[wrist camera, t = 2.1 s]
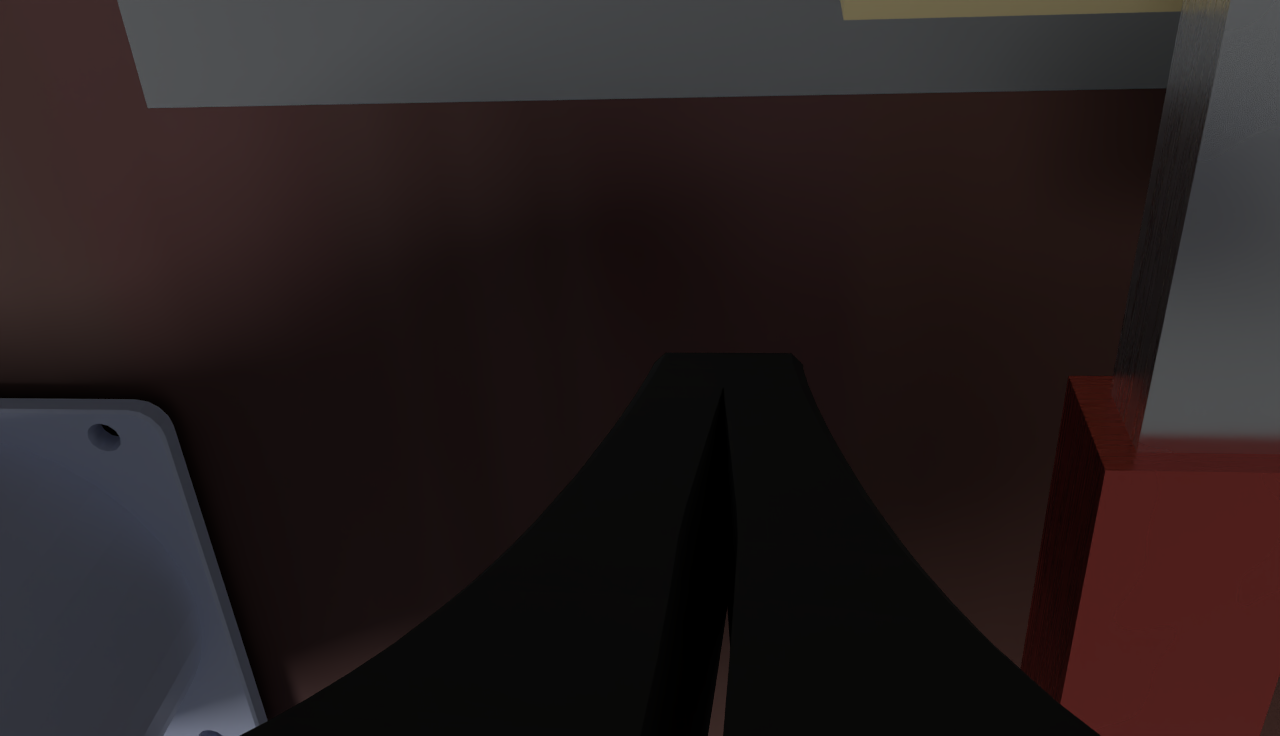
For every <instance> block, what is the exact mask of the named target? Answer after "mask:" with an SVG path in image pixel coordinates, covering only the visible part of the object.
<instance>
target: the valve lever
mask: <svg viewBox="0 0 1280 736" xmlns="http://www.w3.org/2000/svg"><path fill="white" fill-rule="evenodd" d="M1021 670H1022V671H1023V672H1024V673H1025V674H1027V675H1028V676H1029V677H1030V678H1031V679H1032V680H1033V681H1034V682H1036V683H1037V684H1038V685H1039V686H1040V687H1041V688H1042V689H1043V690H1044V691H1046V692H1047V693H1048V694H1049V695H1050V696H1051V697H1052V698H1053V699H1055V700H1056V701H1057V702H1058V703H1059V704H1061V705H1062V706H1063V707H1065V708H1066V709H1067V710H1069V711H1070V712H1071V713H1072V714H1074V715H1075V716H1076V717H1078V718H1079V719H1080V720H1081V721H1083V722H1084V723H1085V724H1087V725H1088V726H1089V727H1090V728H1092V729H1093V730H1094V731H1096V732H1097V733H1098V734H1100V735H1101V736H1260V733H1261V730H1262V727H1263V724H1264V721H1265V718H1266V715H1267V712H1268V709H1269V706H1270V703H1271V700H1272V697H1273V693H1274V690H1275V687H1276V684H1277V681H1278V678H1279V675H1280V0H1183V4H1182V9H1181V15H1180V20H1179V25H1178V31H1177V36H1176V41H1175V47H1174V52H1173V57H1172V63H1171V68H1170V73H1169V79H1168V84H1167V90H1166V95H1165V100H1164V106H1163V111H1162V116H1161V122H1160V127H1159V132H1158V138H1157V143H1156V148H1155V154H1154V159H1153V164H1152V170H1151V175H1150V180H1149V186H1148V191H1147V196H1146V202H1145V207H1144V212H1143V218H1142V223H1141V229H1140V234H1139V239H1138V245H1137V250H1136V255H1135V261H1134V266H1133V271H1132V277H1131V282H1130V287H1129V293H1128V298H1127V303H1126V309H1125V314H1124V319H1123V325H1122V330H1121V335H1120V341H1119V346H1118V351H1117V357H1116V362H1115V368H1114V373H1113V376H1068V382H1067V388H1066V395H1065V401H1064V407H1063V413H1062V419H1061V425H1060V431H1059V437H1058V443H1057V450H1056V456H1055V462H1054V468H1053V474H1052V480H1051V486H1050V492H1049V498H1048V505H1047V511H1046V517H1045V523H1044V529H1043V535H1042V541H1041V547H1040V553H1039V560H1038V566H1037V572H1036V578H1035V584H1034V590H1033V596H1032V602H1031V608H1030V615H1029V621H1028V627H1027V633H1026V639H1025V645H1024V651H1023V657H1022V664H1021Z"/></svg>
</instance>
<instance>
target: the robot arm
mask: <svg viewBox="0 0 1280 736" xmlns="http://www.w3.org/2000/svg"><path fill="white" fill-rule="evenodd" d="M101 424H103V425H107V426H109V427H111V428H112V429H114V430H115V431H116V432H117V434H118V435H119V436H114V435H111V434H110V433H108V432H107V431H105V430H104V428H103V427H102V425H101ZM727 606H728V621H729V636H730V660H729V673H728V685H727V696H726V708H725V720H724V732H723V736H1101V735H1100V734H1098V733H1097V732H1096V731H1094V730H1093V729H1092V728H1090V727H1089V726H1088V725H1087V724H1085V723H1084V722H1083V721H1081V720H1080V719H1079V718H1078V717H1076V716H1075V715H1074V714H1072V713H1071V712H1070V711H1069V710H1067V709H1066V708H1065V707H1063V706H1062V705H1061V704H1059V703H1058V702H1057V701H1056V700H1055V699H1053V698H1052V697H1051V696H1050V695H1049V694H1048V693H1047V692H1046V691H1044V690H1043V689H1042V688H1041V687H1040V686H1039V685H1038V684H1037V683H1036V682H1034V681H1033V680H1032V679H1031V678H1030V677H1029V676H1028V675H1027V674H1025V673H1024V672H1023V671H1022V670H1021V669H1020V668H1019V667H1018V666H1016V665H1015V664H1014V663H1013V662H1012V661H1011V660H1010V659H1009V658H1008V657H1006V656H1005V655H1004V654H1003V653H1002V652H1001V651H1000V650H999V649H997V648H996V647H995V646H994V645H993V644H992V643H991V642H990V641H989V640H988V639H987V638H986V637H985V636H984V635H983V634H982V633H981V632H980V631H979V630H978V629H977V628H976V627H975V626H974V625H973V624H972V623H971V622H970V620H969V619H968V618H967V617H966V616H965V615H964V614H963V613H962V612H961V611H960V610H959V609H958V608H957V607H956V606H955V605H954V604H953V603H952V602H951V601H950V599H949V598H948V597H947V596H946V595H945V594H944V593H943V592H942V590H941V589H940V588H939V587H938V586H937V585H936V584H935V582H934V581H933V580H932V579H931V578H930V577H929V576H928V575H927V573H926V572H925V571H924V570H923V569H922V567H921V566H920V565H919V564H918V562H917V561H916V560H915V559H914V558H913V556H912V555H911V554H910V553H909V551H908V550H907V549H906V547H905V546H904V545H903V544H902V542H901V541H900V540H899V538H898V537H897V536H896V534H895V533H894V532H893V530H892V529H891V527H890V526H889V525H888V523H887V522H886V520H885V519H884V518H883V516H882V515H881V514H880V512H879V511H878V509H877V508H876V507H875V505H874V504H873V502H872V501H871V499H870V498H869V496H868V495H867V493H866V492H865V490H864V489H863V487H862V486H861V484H860V482H859V481H858V479H857V477H856V476H855V474H854V472H853V471H852V469H851V467H850V466H849V464H848V463H847V461H846V459H845V458H844V456H843V454H842V453H841V451H840V449H839V448H838V446H837V444H836V442H835V440H834V439H833V437H832V435H831V433H830V431H829V429H828V427H827V425H826V423H825V421H824V419H823V417H822V415H821V413H820V411H819V409H818V407H817V405H816V402H815V400H814V398H813V396H812V393H811V391H810V388H809V386H808V383H807V380H806V377H805V374H804V370H803V364H802V363H801V362H800V361H799V360H798V359H797V358H796V357H794V356H793V355H792V354H791V353H665V354H664V355H663V356H662V357H661V358H659V359H658V360H657V361H656V362H655V363H654V365H653V367H652V369H651V370H650V372H649V374H648V376H647V377H646V379H645V381H644V382H643V384H642V386H641V387H640V389H639V390H638V392H637V393H636V395H635V397H634V398H633V400H632V401H631V403H630V404H629V406H628V407H627V408H626V410H625V411H624V413H623V414H622V416H621V417H620V418H619V420H618V421H617V423H616V424H615V426H614V427H613V428H612V430H611V431H610V432H609V434H608V435H607V436H606V437H605V439H604V440H603V441H602V443H601V444H600V445H599V447H598V448H597V449H596V451H595V452H594V453H593V454H592V456H591V457H590V458H589V460H588V461H587V462H586V464H585V465H584V466H583V467H582V469H581V470H580V471H579V472H578V474H577V475H576V476H575V477H574V478H573V479H572V481H571V482H570V483H569V484H568V485H567V486H566V487H565V488H564V490H563V491H562V492H561V493H560V494H559V495H558V496H557V497H556V499H555V500H554V501H553V502H552V503H551V504H550V505H549V506H548V508H547V509H546V510H545V511H544V512H543V513H542V514H541V515H540V517H539V518H538V519H537V520H536V521H535V522H534V523H533V524H532V525H531V526H530V527H529V528H528V529H527V530H526V531H525V533H524V534H523V535H522V536H521V537H520V538H519V539H518V540H517V541H516V542H515V543H514V544H513V545H512V546H511V547H510V548H509V549H507V550H506V551H505V552H504V553H503V554H502V555H501V556H500V557H499V558H498V559H497V560H496V561H495V562H494V563H493V564H492V565H490V566H489V567H488V568H487V569H486V570H485V571H484V572H483V573H482V574H481V575H479V576H478V577H477V578H476V579H475V580H474V581H473V582H472V583H471V584H469V585H468V586H467V587H466V588H465V589H464V590H462V591H461V592H460V593H459V594H457V595H456V596H455V597H454V598H452V599H451V600H450V601H449V602H447V603H446V604H445V605H444V606H443V607H441V608H440V609H439V610H437V611H436V612H435V613H433V614H432V615H431V616H430V617H428V618H427V619H426V620H424V621H423V622H422V623H420V624H419V625H418V626H416V627H415V628H414V629H412V630H411V631H410V632H409V633H407V634H406V635H405V636H403V637H402V638H401V639H399V640H398V641H397V642H395V643H394V644H392V645H391V646H389V647H388V648H387V649H385V650H384V651H382V652H381V653H379V654H378V655H376V656H375V657H373V658H371V659H370V660H368V661H367V662H365V663H364V664H362V665H361V666H359V667H358V668H356V669H355V670H353V671H352V672H350V673H349V674H347V675H345V676H344V677H342V678H341V679H339V680H337V681H336V682H334V683H332V684H331V685H329V686H327V687H326V688H324V689H323V690H321V691H319V692H318V693H316V694H314V695H313V696H311V697H309V698H308V699H306V700H304V701H303V702H301V703H299V704H297V705H296V706H294V707H292V708H290V709H289V710H287V711H285V712H283V713H282V714H280V715H278V716H276V717H274V718H273V719H271V720H269V721H268V720H267V717H266V714H265V711H264V708H263V704H262V701H261V698H260V695H259V692H258V689H257V686H256V682H255V679H254V676H253V673H252V670H251V667H250V664H249V660H248V657H247V654H246V651H245V648H244V645H243V642H242V638H241V635H240V632H239V629H238V626H237V623H236V620H235V616H234V613H233V610H232V607H231V604H230V601H229V598H228V594H227V591H226V588H225V585H224V582H223V579H222V576H221V572H220V569H219V566H218V563H217V560H216V557H215V554H214V551H213V547H212V544H211V541H210V538H209V535H208V532H207V529H206V525H205V522H204V519H203V516H202V513H201V510H200V507H199V503H198V500H197V497H196V494H195V491H194V488H193V485H192V481H191V478H190V475H189V472H188V469H187V466H186V463H185V459H184V456H183V453H182V450H181V447H180V444H179V441H178V437H177V434H176V431H175V428H174V425H173V423H172V422H171V420H170V418H169V416H168V415H167V414H166V413H165V412H164V411H163V410H162V409H160V408H159V407H158V406H156V405H154V404H152V403H150V402H148V401H142V400H136V399H41V398H0V736H708V731H709V725H710V718H711V712H712V705H713V699H714V692H715V686H716V679H717V673H718V666H719V659H720V653H721V646H722V639H723V633H724V626H725V619H726V612H727Z"/></svg>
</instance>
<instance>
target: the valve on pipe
mask: <svg viewBox="0 0 1280 736" xmlns="http://www.w3.org/2000/svg"><path fill="white" fill-rule="evenodd" d="M117 1H118V4H119V8H120V12H121V15H122V19H123V22H124V26H125V29H126V33H127V36H128V40H129V43H130V47H131V50H132V54H133V57H134V61H135V64H136V68H137V72H138V75H139V79H140V82H141V86H142V89H143V93H144V96H145V100H146V103H147V107H148V108H175V107H226V106H277V105H329V104H380V103H432V102H483V101H535V100H586V99H638V98H689V97H741V96H792V95H844V94H895V93H946V92H998V91H1049V90H1101V89H1152V88H1167V84H1168V79H1169V73H1170V68H1171V63H1172V57H1173V52H1174V47H1175V41H1176V36H1177V31H1178V25H1179V20H1180V15H1181V9H1182V4H1183V0H117Z"/></svg>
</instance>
